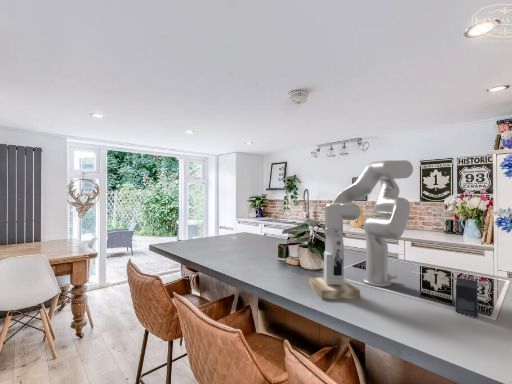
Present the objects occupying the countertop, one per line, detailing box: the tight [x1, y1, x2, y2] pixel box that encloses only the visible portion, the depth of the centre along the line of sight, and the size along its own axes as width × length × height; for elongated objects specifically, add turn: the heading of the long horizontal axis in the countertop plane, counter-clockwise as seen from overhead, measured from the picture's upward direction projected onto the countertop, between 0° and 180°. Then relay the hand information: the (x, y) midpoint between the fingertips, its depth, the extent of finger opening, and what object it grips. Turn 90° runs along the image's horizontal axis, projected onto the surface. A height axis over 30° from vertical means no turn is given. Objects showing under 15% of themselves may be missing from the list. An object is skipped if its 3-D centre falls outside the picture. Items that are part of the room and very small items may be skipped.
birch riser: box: [308, 277, 361, 300], centre depth 115 cm, size 16×16×4 cm
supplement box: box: [323, 250, 345, 285], centre depth 115 cm, size 7×7×13 cm
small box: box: [454, 277, 479, 318], centre depth 97 cm, size 11×6×10 cm, turn 141°
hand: (333, 272), depth 115 cm, fingers closed on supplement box, 8 cm apart
